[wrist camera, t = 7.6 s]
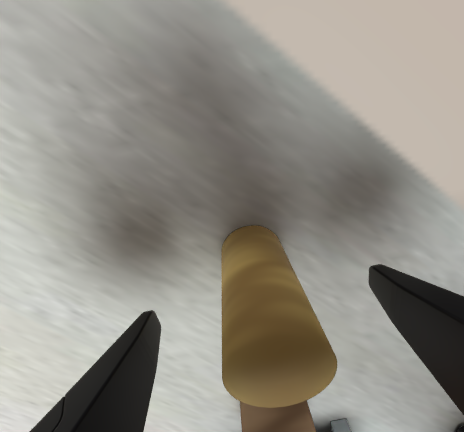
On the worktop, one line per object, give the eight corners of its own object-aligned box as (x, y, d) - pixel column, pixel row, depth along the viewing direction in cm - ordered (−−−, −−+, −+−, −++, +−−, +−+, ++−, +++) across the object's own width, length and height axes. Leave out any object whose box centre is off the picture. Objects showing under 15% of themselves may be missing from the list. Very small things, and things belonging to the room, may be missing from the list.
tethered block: (291, 218, 13) (364, 320, 6) (300, 409, 20) (337, 544, 14) (204, 232, 13) (187, 346, 6) (246, 417, 20) (258, 554, 14)
